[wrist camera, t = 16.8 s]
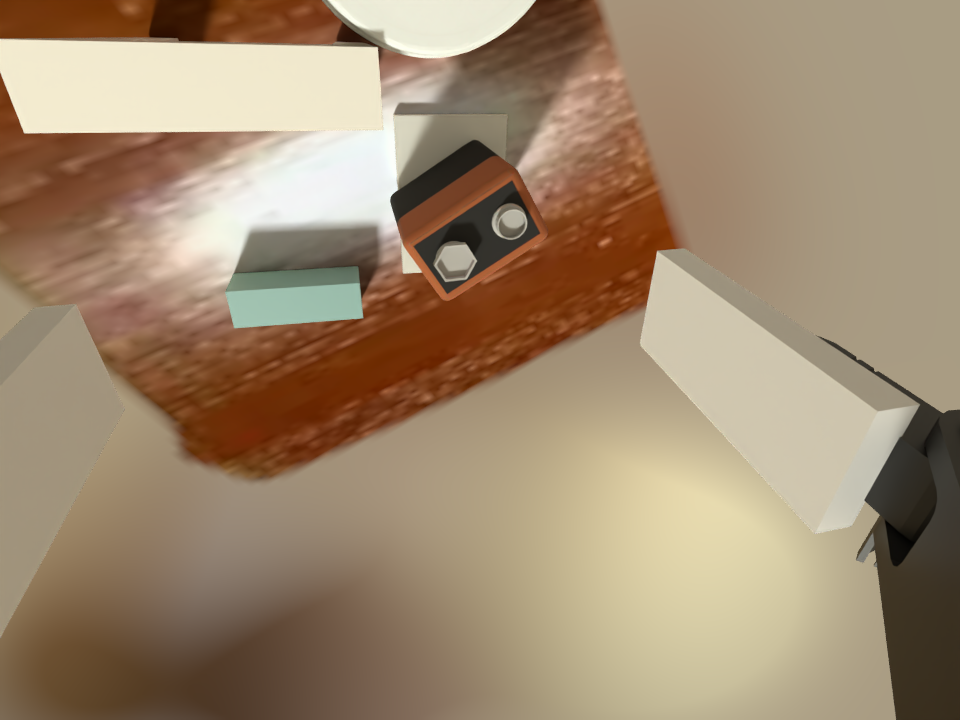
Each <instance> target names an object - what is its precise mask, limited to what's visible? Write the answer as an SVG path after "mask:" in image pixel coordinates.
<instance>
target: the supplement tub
mask: <svg viewBox="0 0 960 720" xmlns="http://www.w3.org/2000/svg"><path fill="white" fill-rule="evenodd" d="M322 1H323V2H324V3H325V4H326V6H327V7H328V8H329V9H330V10H331V11H332V12H333V13H334V14H335V15H336V16H337V17H338V18H339V19H340V20H341V21H342V22H343V23H344V24H346V25H347V26H348V27H349V28H351V29H352V30H353V31H355V32H356V33H357V34H359V35H360V36H362V37H364V38H365V39H367V40H369V41H370V42H372V43H374V44H376V45H378V46H380V47H383V48H385V49H388V50H390V51H393V52H396V53H400V54H403V55H407V56H412V57H419V58H443V57H450V56H454V55H459V54H462V53H466V52H469V51H471V50H473V49H476V48H478V47H480V46H482V45H484V44H486V43H487V42H489V41H491V40H493V39H495V38H496V37H498V36H499V35H501V34H502V33H504V32H505V31H506V30H508V29H509V28H510V27H512V26H513V25H514V24H515V23H516V22H517V21H518V20H519V19H520V18H521V17H522V16H523V15H524V14H525V13H526V12H527V11H528V9H529V8H530V7H531V6H532V4H533V3H534V2H535V1H536V0H322Z"/></svg>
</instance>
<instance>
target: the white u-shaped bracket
mask: <svg viewBox="0 0 960 720" xmlns="http://www.w3.org/2000/svg"><path fill="white" fill-rule="evenodd" d="M0 73H1V75H2V78H3V80H4V83H5V85H6V88H7V90H8V93H9V95H10V98H11V100H12V103H13V106H14V108H15V111H16V113H17V116H18V118H19V121H20V123H21V126H22V128H23V131H24V133H103V132H215V131H326V130H383V117H382V103H381V88H380V73H379V58H378V47H375V46H372V45H369V44H366V43H363V42H334V43H333V44H332V45H331V44H286V43H241V42H196V41H179V40H178V38H151V37H135V38H30V39H0Z"/></svg>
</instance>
